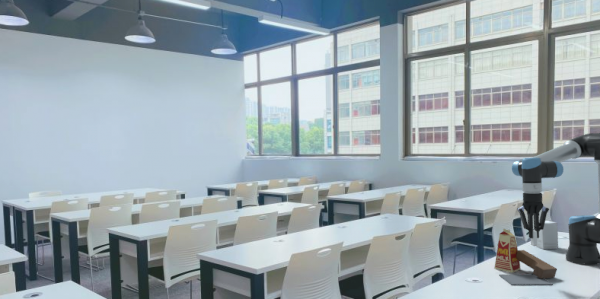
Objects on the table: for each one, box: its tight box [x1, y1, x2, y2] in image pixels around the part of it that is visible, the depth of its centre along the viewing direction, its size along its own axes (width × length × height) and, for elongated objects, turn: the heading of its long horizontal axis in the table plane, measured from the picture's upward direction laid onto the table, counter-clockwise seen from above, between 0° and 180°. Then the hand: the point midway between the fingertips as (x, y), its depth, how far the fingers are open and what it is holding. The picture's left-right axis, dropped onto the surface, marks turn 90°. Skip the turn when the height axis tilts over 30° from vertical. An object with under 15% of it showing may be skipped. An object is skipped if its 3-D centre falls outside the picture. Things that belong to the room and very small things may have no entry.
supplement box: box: [535, 220, 559, 250], centre depth 245 cm, size 9×9×15 cm
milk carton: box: [493, 228, 521, 273], centre depth 205 cm, size 9×9×20 cm
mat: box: [498, 273, 554, 286], centre depth 188 cm, size 17×14×1 cm
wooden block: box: [516, 249, 558, 279], centre depth 195 cm, size 9×4×18 cm
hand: (534, 245), depth 187 cm, fingers closed
